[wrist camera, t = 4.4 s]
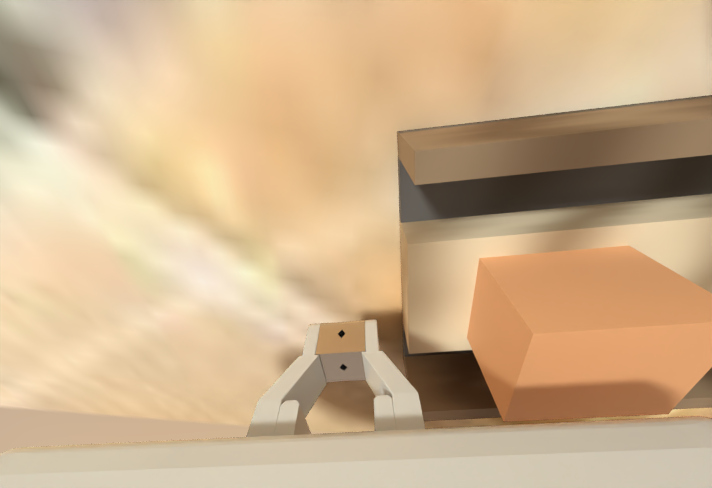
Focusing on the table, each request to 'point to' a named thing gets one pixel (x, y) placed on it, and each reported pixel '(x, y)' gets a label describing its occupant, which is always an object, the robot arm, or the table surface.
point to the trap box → (541, 219)
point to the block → (588, 334)
